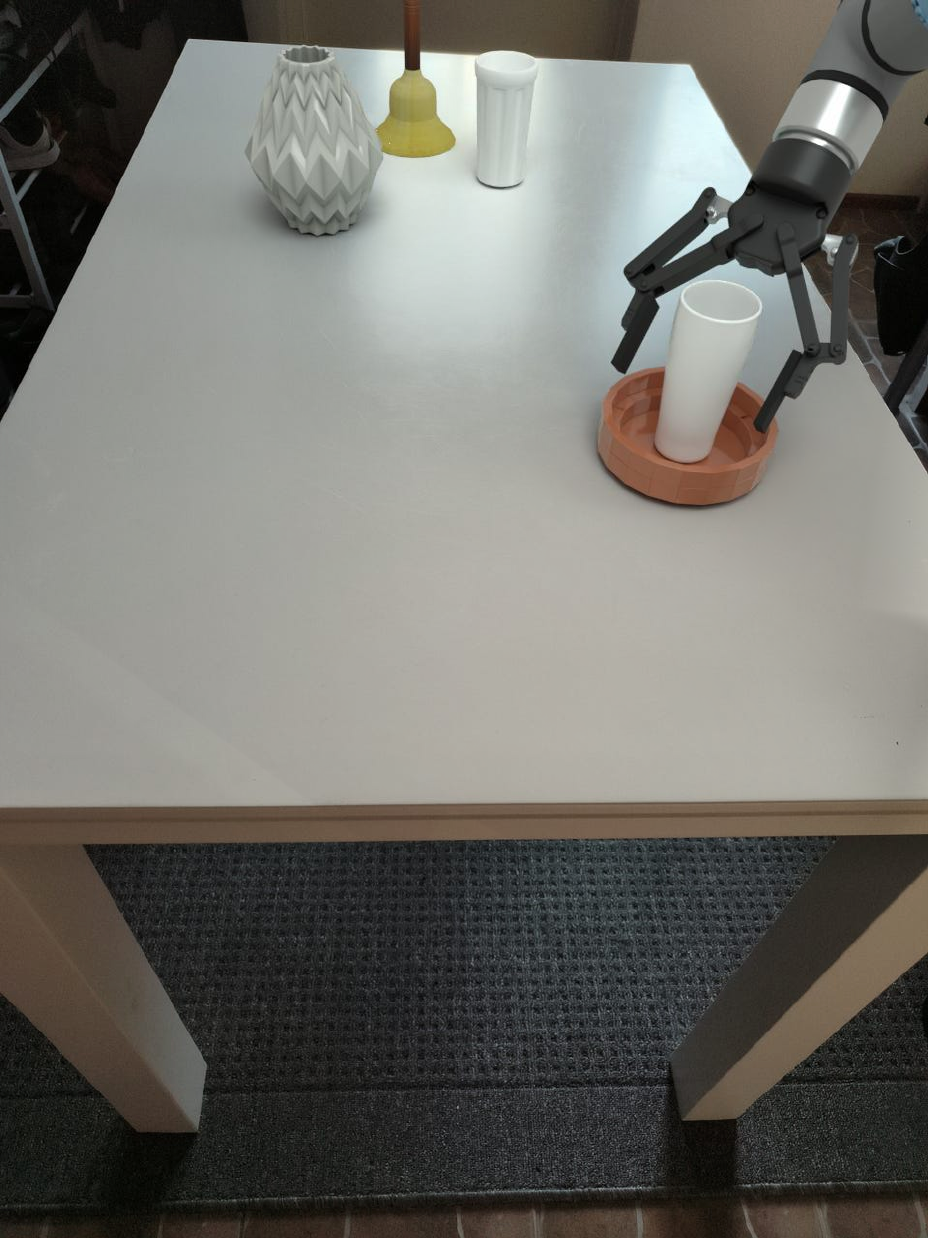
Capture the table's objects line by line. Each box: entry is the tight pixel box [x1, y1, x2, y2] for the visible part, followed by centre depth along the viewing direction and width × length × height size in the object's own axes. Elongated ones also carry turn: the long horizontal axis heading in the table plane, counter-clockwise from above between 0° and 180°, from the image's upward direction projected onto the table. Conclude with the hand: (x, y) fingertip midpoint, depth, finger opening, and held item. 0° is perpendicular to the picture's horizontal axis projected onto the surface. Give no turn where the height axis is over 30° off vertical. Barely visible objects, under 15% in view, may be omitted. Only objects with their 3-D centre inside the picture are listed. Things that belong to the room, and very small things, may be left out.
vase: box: [244, 44, 384, 237], centre depth 105 cm, size 16×16×18 cm
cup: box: [474, 50, 540, 188], centre depth 115 cm, size 8×8×14 cm
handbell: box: [374, 0, 457, 158], centre depth 119 cm, size 12×12×25 cm
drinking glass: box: [654, 279, 763, 463], centre depth 77 cm, size 7×7×15 cm
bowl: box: [597, 365, 779, 506], centre depth 82 cm, size 16×16×4 cm
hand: (685, 398), depth 76 cm, fingers open, 13 cm apart
